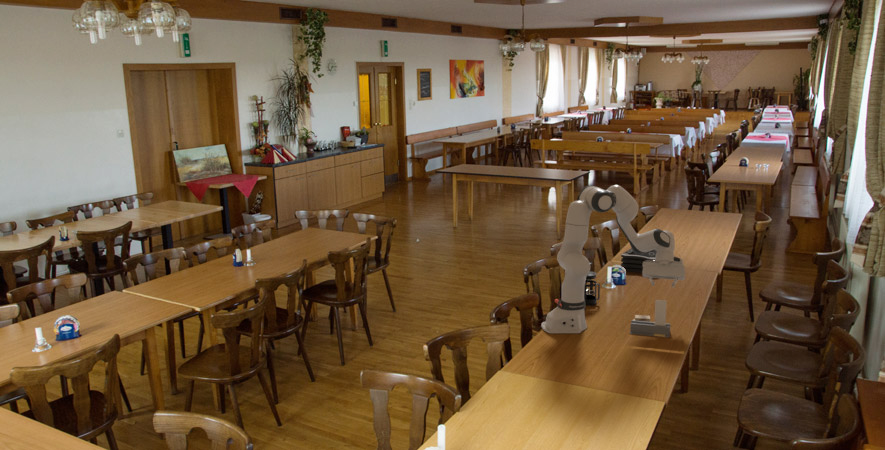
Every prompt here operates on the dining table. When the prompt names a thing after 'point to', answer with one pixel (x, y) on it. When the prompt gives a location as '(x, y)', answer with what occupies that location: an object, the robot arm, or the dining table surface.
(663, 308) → the plank
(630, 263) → the container
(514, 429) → the dining table surface
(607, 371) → the dining table surface
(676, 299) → the dining table surface
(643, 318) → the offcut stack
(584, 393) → the dining table surface
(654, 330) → the rack
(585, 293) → the french press
